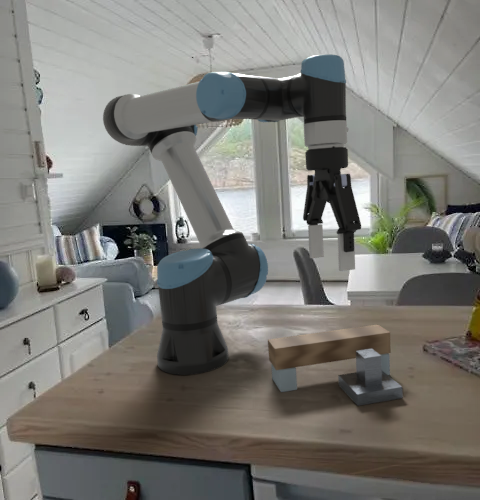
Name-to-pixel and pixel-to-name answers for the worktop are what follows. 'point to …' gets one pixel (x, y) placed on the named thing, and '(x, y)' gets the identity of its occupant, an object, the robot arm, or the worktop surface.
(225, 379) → the worktop surface
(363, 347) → the plank
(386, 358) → the posts
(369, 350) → the fulcrum
